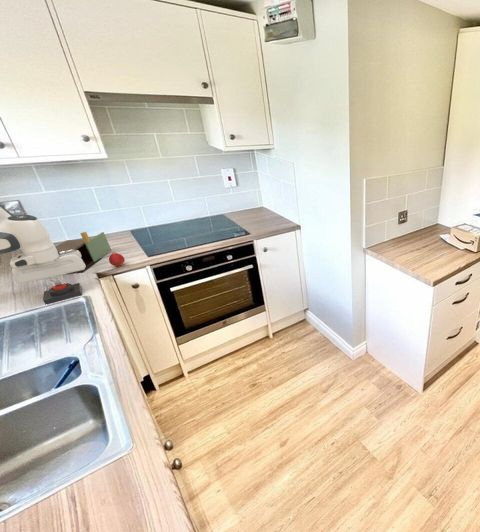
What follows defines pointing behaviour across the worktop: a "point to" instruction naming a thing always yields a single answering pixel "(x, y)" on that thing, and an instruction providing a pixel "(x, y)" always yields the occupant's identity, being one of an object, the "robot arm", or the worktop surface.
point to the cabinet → (81, 248)
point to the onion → (116, 259)
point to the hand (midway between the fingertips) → (59, 285)
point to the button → (59, 287)
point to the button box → (62, 293)
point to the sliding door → (96, 245)
